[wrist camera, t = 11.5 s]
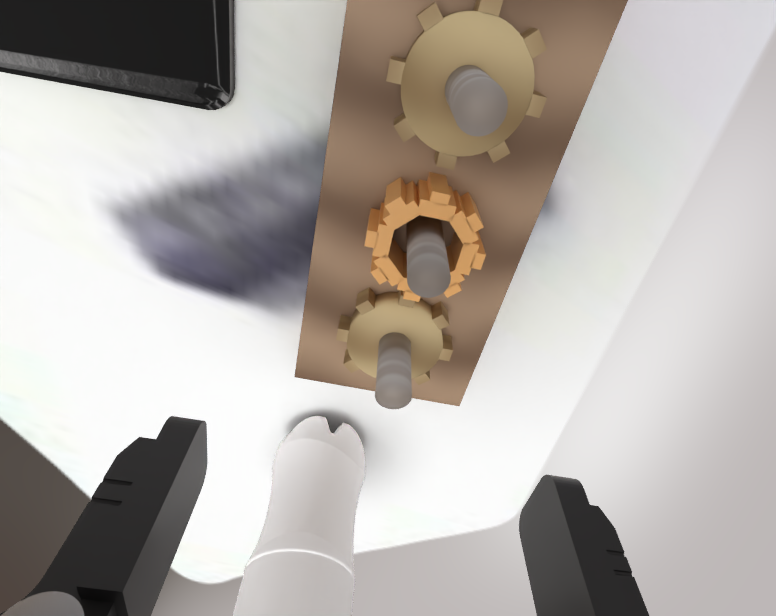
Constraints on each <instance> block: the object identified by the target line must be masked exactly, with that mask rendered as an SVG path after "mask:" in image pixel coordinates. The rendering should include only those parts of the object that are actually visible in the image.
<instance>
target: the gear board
mask: <svg viewBox="0 0 776 616" xmlns="http://www.w3.org/2000/svg"><path fill="white" fill-rule="evenodd" d="M627 1H628V0H347V7H346V14H345V21H344V29H343V36H342V43H341V50H340V57H339V64H338V71H337V78H336V86H335V93H334V100H333V107H332V114H331V121H330V128H329V135H328V143H327V150H326V157H325V164H324V171H323V178H322V185H321V192H320V200H319V207H318V214H317V221H316V228H315V235H314V242H313V249H312V256H311V264H310V271H309V278H308V285H307V292H306V299H305V306H304V313H303V321H302V328H301V335H300V342H299V349H298V356H297V363H296V370H295V377H298V378H303V379H309V380H314V381H320V382H326V383H331V384H337V385H343V386H348V387H354V388H359V389H365V390H371V391H375V398H376V400H377V402H378V403H379V404H380V405H381V406H383V407H385V408H388V409H399V408H403V407H405V406H406V405H408V404H409V402H410V401H411V398H416V399H421V400H427V401H433V402H438V403H444V404H450V405H455V406H459V405H460V403H461V401H462V398H463V396H464V393H465V391H466V389H467V386H468V384H469V381H470V379H471V377H472V374H473V372H474V369H475V367H476V365H477V362H478V360H479V357H480V355H481V352H482V350H483V348H484V345H485V343H486V340H487V338H488V336H489V333H490V331H491V328H492V326H493V324H494V321H495V319H496V316H497V314H498V312H499V309H500V307H501V304H502V302H503V300H504V297H505V295H506V292H507V290H508V287H509V285H510V283H511V280H512V278H513V275H514V273H515V271H516V268H517V266H518V263H519V261H520V259H521V256H522V254H523V251H524V249H525V247H526V244H527V242H528V239H529V237H530V235H531V232H532V230H533V227H534V225H535V223H536V220H537V218H538V215H539V213H540V210H541V208H542V206H543V203H544V201H545V198H546V196H547V194H548V191H549V189H550V186H551V184H552V182H553V179H554V177H555V174H556V172H557V170H558V167H559V165H560V162H561V160H562V158H563V155H564V153H565V150H566V148H567V145H568V143H569V141H570V138H571V136H572V133H573V131H574V129H575V126H576V124H577V121H578V119H579V117H580V114H581V112H582V109H583V107H584V105H585V102H586V100H587V97H588V95H589V93H590V90H591V88H592V85H593V83H594V80H595V78H596V76H597V73H598V71H599V68H600V66H601V64H602V61H603V59H604V56H605V54H606V52H607V49H608V47H609V44H610V42H611V40H612V37H613V35H614V32H615V30H616V28H617V25H618V23H619V20H620V18H621V16H622V13H623V11H624V8H625V6H626V3H627ZM429 172H432V173H437V174H441V175H446V178H447V182H448V186H451V187H452V190H453V191H455V190H457V192H458V194H459V195H460V196H462V195H464V194H465V193H467V192H469V194H470V195H471V197H472V199H473V201H474V202H475V204H476V206H477V209H478V212H479V215H480V218H481V221H482V223H483V226H484V228H482V229H480V230H478V231H479V234H480V238H481V241H482V244H483V247H484V250H485V253H486V256H485V259H484V262H483V265H482V267H481V270H479V269H474V268H471V271H470V273H469V275H465V274H464V278H465V280H463V281H462V282H460V284H461V289H462V291H460V292H458V293H456V294H454V295H452V296H450V297H448V298H447V297H446V296H445V294H444V293H443V292H445V291H446V289H447V288H448V287H449V284H450V281H451V275H450V269H449V264H448V258H447V252H446V247H447V246H449V245H450V244H451V241H452V238H453V235H454V231H455V230H454V229H453V227H452V225H451V224H450V222H449V221H445V220H440V219H436V218H431V217H426V216H421V215H419V216H417V217H416V218H414V219H412V220H411V221H409V222H407V223H405V224H404V225H402V226H400V227H399V228H397V229H395V230H394V233H393V238H394V240H395V241H396V243H397V244H398V246H399V247H400V248H401V250H402V251H403V252H404V253H407V283H408V286H409V288H410V289H411V291H412V292H413V293H415V294H416V295H418V296H421V297H420V301H419V302H417V301H412V300H407V299H403V291H402V290H397V284H396V285H394V286H391V284H390V283H389V282H388V280H387V281H386V282H384V283H382V284H379V283H378V282H377V280H376V279H375V278H374V276H373V275H372V274H371V272H370V271H371V263H372V253H373V248H371V247H366V246H364V245H365V238H366V232H367V226H368V220H369V215H370V210H371V208H373V209H378V210H380V206H381V202H382V203H384V200H385V197H386V187H387V185H389V184H390V183H392V182H393V181H395V180H397V179H398V178H400V177H401V178H402V180H403V181H404V183H405V184H408V183H409V182H411V181H412V180H413V181H414V183H415V184H416V186H417V185H418V181H419V179H420V180H425V181H427V179H428V176H429Z"/></svg>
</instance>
